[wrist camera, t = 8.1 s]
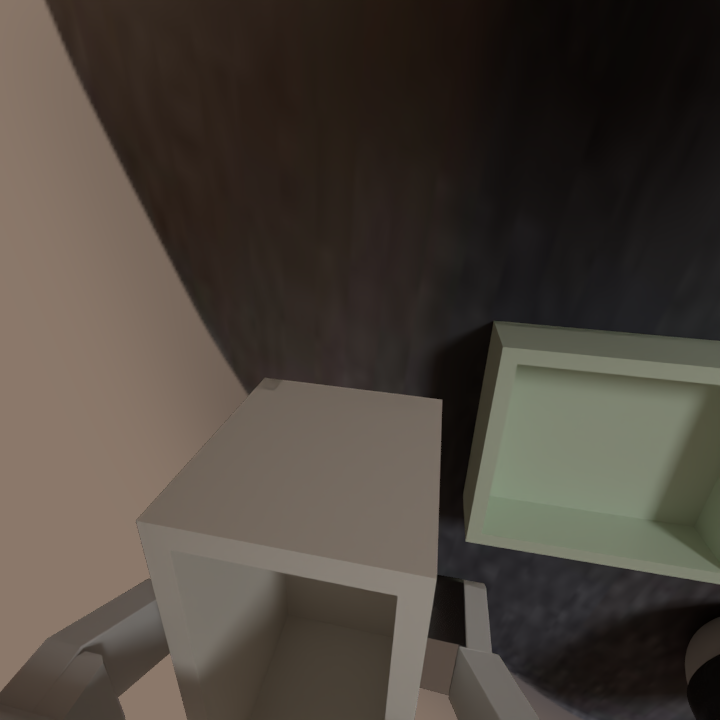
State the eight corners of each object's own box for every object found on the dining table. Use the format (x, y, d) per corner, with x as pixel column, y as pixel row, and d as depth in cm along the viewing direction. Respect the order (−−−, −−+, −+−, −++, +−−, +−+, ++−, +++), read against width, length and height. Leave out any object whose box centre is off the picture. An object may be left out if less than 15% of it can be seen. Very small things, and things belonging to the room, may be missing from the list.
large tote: (789, 347, 21) (861, 382, 17) (697, 531, 26) (738, 587, 23) (493, 320, 23) (503, 346, 20) (462, 495, 28) (465, 541, 25)
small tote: (442, 399, 10) (436, 579, 6) (411, 632, 14) (393, 852, 9) (264, 377, 11) (135, 520, 6) (281, 604, 15) (207, 794, 10)
